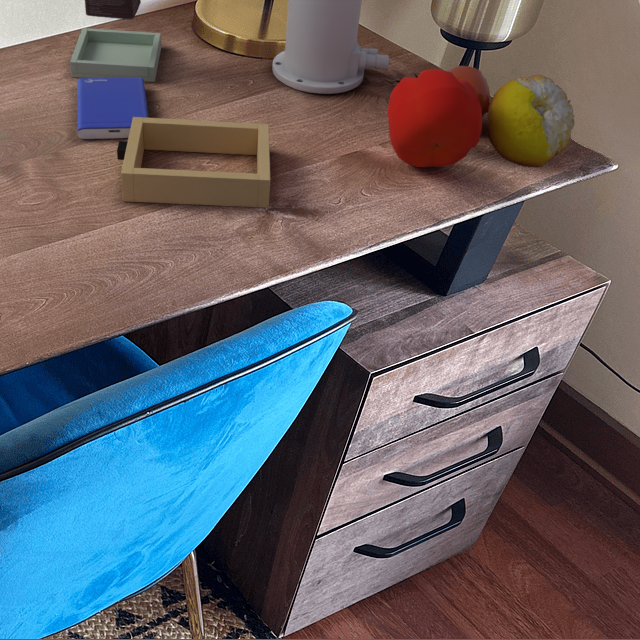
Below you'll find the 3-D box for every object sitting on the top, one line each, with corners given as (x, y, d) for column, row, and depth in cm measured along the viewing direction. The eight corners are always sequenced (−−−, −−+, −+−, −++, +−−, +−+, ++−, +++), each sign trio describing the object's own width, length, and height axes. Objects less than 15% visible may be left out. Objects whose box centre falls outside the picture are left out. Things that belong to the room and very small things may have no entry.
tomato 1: (453, 186, 101) (442, 125, 104) (507, 127, 90) (492, 61, 94) (373, 175, 97) (365, 112, 100) (420, 113, 87) (408, 45, 90)
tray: (161, 47, 116) (160, 32, 115) (154, 82, 108) (154, 67, 107) (83, 42, 115) (82, 27, 114) (71, 77, 107) (69, 61, 106)
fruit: (564, 177, 102) (580, 157, 94) (479, 170, 103) (487, 149, 95) (571, 91, 104) (587, 63, 96) (486, 84, 104) (495, 57, 97)
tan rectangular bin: (267, 150, 98) (268, 124, 96) (268, 207, 89) (270, 180, 87) (125, 143, 96) (123, 116, 94) (113, 201, 88) (110, 172, 85)
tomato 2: (508, 76, 104) (495, 138, 105) (467, 83, 111) (455, 142, 111) (465, 56, 100) (452, 121, 100) (425, 65, 107) (413, 126, 107)
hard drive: (76, 77, 104) (77, 127, 95) (143, 77, 106) (149, 125, 97) (78, 89, 105) (78, 139, 96) (144, 88, 107) (150, 137, 98)
